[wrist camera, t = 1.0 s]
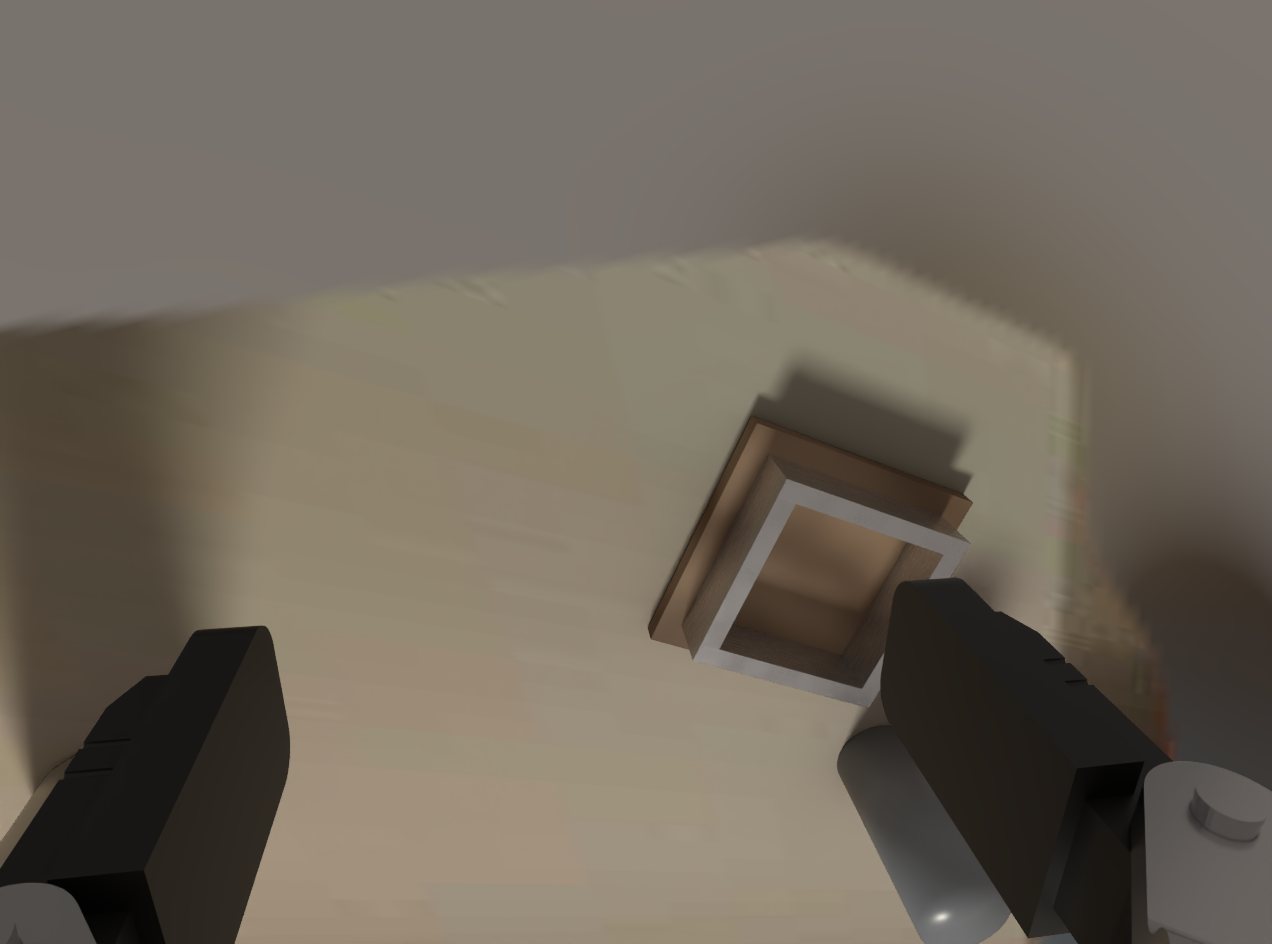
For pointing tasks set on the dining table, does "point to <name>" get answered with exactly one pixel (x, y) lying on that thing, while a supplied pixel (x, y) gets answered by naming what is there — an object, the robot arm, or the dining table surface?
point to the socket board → (801, 545)
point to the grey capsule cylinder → (919, 842)
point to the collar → (747, 550)
